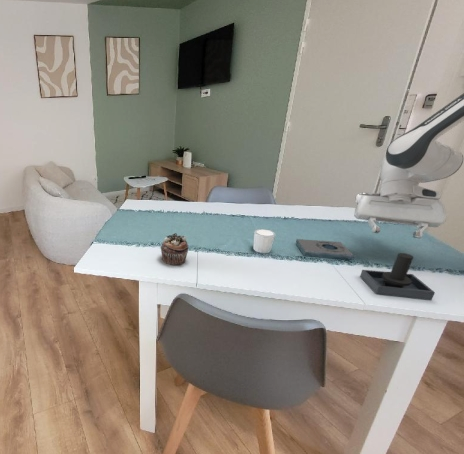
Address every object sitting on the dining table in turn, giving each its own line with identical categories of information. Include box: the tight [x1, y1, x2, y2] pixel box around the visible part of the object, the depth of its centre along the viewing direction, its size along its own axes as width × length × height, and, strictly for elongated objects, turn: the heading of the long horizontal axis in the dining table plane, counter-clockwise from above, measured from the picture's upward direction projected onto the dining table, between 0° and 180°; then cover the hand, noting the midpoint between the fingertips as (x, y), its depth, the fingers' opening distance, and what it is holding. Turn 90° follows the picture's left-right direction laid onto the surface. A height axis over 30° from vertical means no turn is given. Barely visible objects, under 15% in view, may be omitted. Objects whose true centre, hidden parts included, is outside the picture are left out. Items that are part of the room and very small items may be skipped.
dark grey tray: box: [359, 269, 436, 301], centre depth 83 cm, size 12×9×2 cm
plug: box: [382, 252, 414, 288], centre depth 81 cm, size 6×6×10 cm
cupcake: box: [160, 233, 189, 266], centre depth 102 cm, size 10×10×10 cm
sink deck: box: [295, 238, 354, 261], centre depth 104 cm, size 14×10×2 cm
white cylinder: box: [252, 228, 276, 254], centre depth 107 cm, size 7×7×7 cm
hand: (396, 234), depth 88 cm, fingers open, 8 cm apart
